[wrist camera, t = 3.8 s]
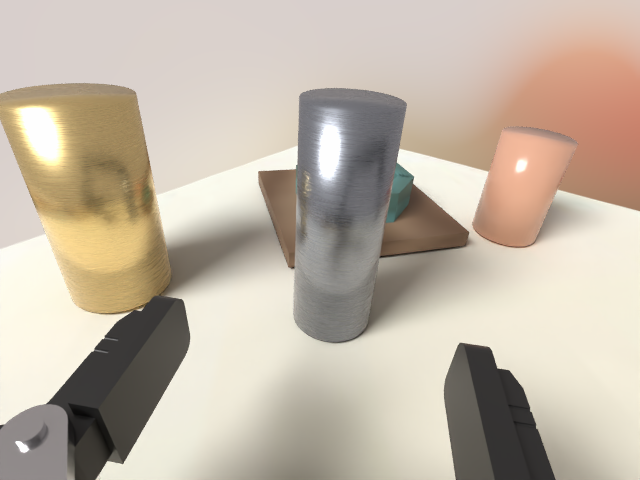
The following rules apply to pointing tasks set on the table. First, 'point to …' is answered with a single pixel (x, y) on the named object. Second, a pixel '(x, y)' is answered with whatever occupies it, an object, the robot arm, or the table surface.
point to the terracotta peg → (522, 184)
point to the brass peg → (91, 189)
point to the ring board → (401, 223)
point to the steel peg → (342, 205)
